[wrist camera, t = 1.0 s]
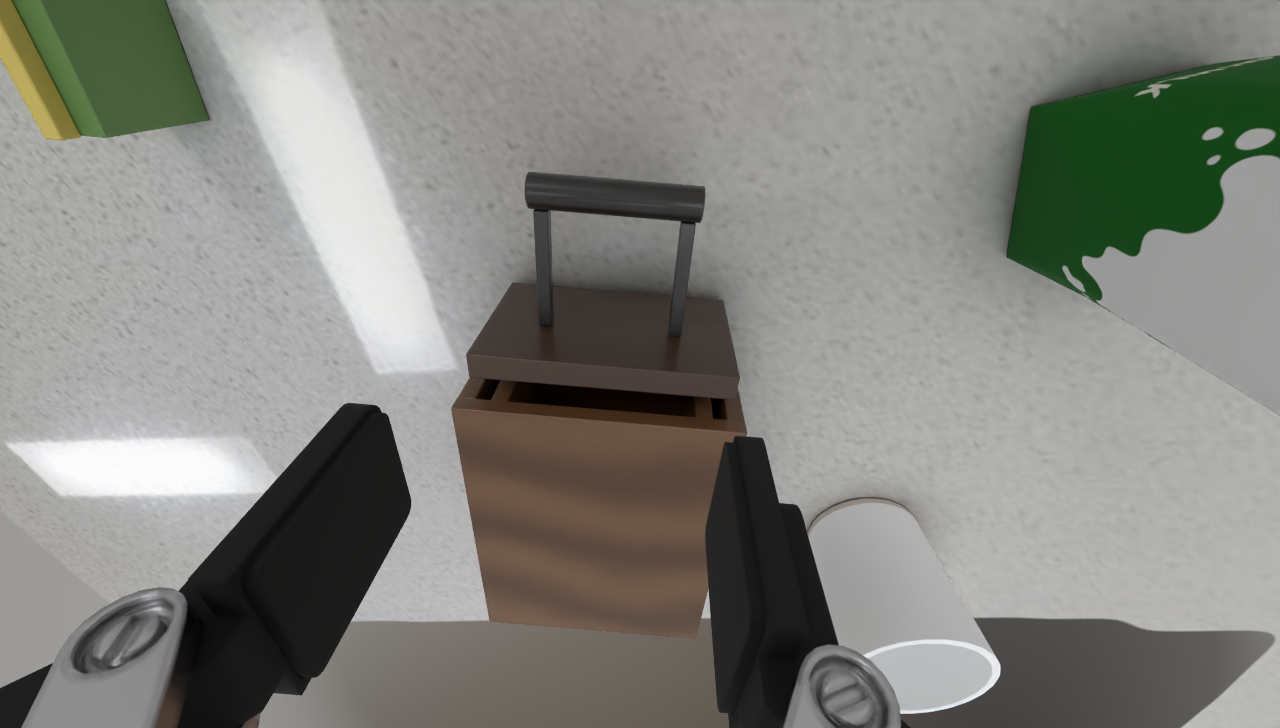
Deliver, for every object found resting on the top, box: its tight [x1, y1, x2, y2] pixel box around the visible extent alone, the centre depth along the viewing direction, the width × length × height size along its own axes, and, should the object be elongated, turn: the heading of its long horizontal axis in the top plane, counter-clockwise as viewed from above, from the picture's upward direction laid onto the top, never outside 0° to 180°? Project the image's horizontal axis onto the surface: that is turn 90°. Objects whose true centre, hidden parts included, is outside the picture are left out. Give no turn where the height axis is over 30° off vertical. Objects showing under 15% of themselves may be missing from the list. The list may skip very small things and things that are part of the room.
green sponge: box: [0, 0, 209, 140], centre depth 20 cm, size 3×6×6 cm, turn 176°
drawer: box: [466, 172, 740, 419], centre depth 26 cm, size 22×11×7 cm, turn 176°
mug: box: [808, 498, 1000, 714], centre depth 33 cm, size 11×9×10 cm
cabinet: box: [451, 378, 747, 639], centre depth 29 cm, size 17×13×9 cm
